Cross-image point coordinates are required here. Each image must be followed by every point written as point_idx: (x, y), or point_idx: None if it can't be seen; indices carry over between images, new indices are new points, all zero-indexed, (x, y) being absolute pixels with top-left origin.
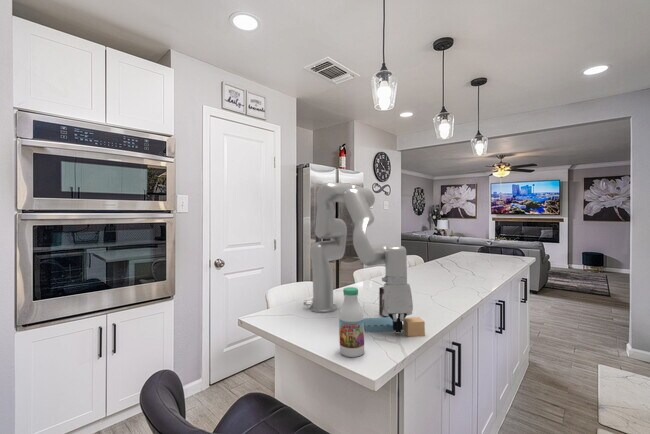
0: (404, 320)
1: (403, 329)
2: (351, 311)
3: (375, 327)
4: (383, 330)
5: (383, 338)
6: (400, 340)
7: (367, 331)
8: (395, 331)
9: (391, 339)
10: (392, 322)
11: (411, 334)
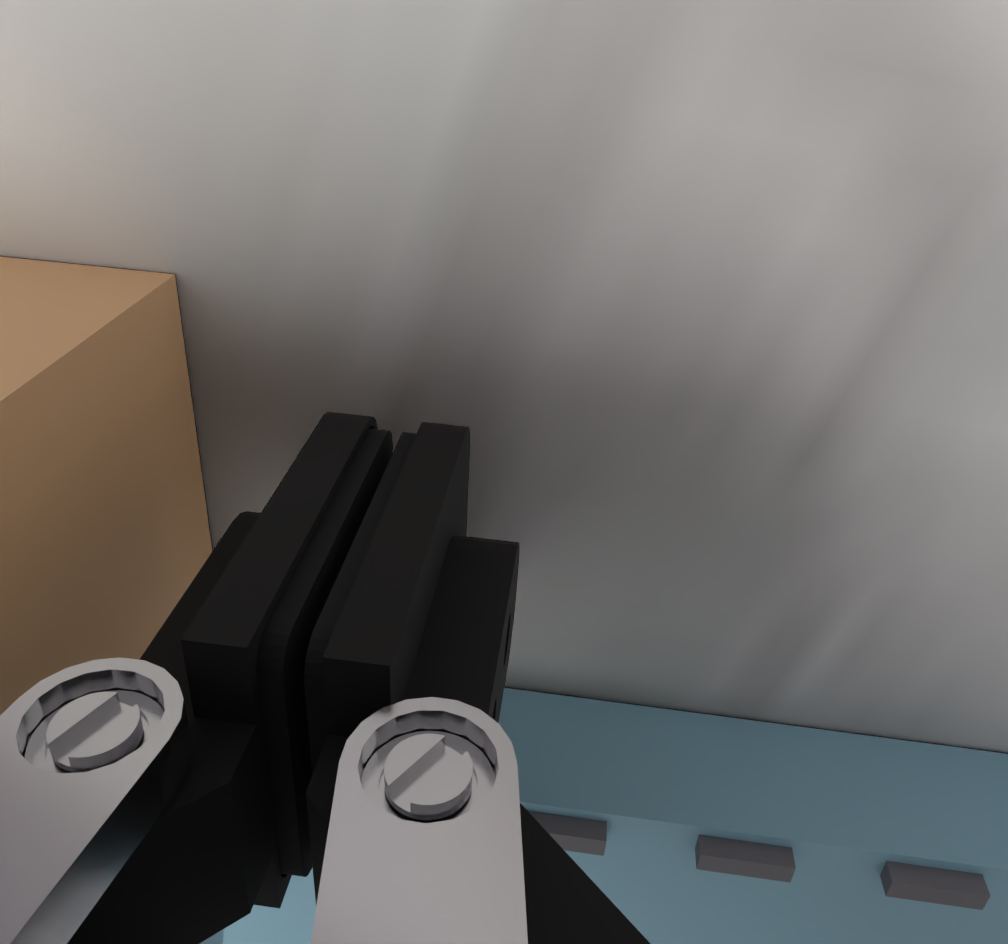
0: None
1: None
2: None
3: (933, 828)
4: (698, 726)
5: (956, 324)
6: (497, 50)
7: None
8: (465, 534)
9: (750, 196)
10: None
11: (45, 280)
